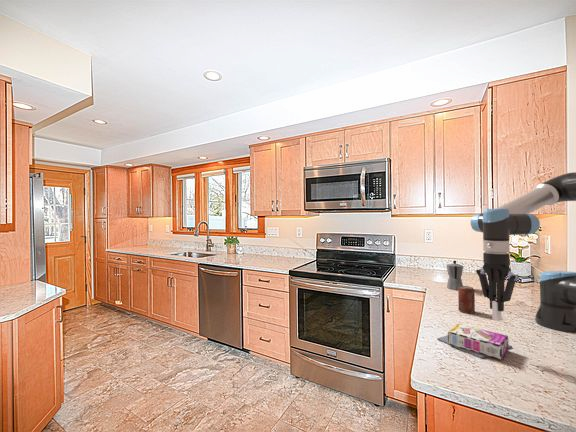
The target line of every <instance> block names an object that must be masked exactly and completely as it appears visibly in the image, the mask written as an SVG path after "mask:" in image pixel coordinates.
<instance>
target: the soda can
mask: <svg viewBox="0 0 576 432" xmlns="http://www.w3.org/2000/svg"><path fill="white" fill-rule="evenodd" d="M457 291H458V293H457V294H458V311H459V312H461V313H464V314H470V315H471V314H474V313H475V311H476V304H475V301H476V300H475V299H476V297H475V296H476V295H475V293H476V292H475V289H474V287H472V286H469V285H468V286H467V285H463V286H460V287H459V288H458V290H457Z"/></svg>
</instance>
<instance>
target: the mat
mask: <svg viewBox="0 0 576 432" xmlns="http://www.w3.org/2000/svg"><path fill="white" fill-rule="evenodd" d="M436 340H437V341H439V342H442V343H443V342H444V343H443V344H446V345H449V346H451V347H452V348H456V349H457V348H458V350H460V351H462V352H464V353H467V354H469V355H471V356H474V357H476V358H479V359H484V358H487V357H489V356H488V355H484V354H481V353H477V352H474V351H471V350H467V349H464V348H460V347H457V346H453V345H450V344H448V334H447V335H443V336H440V337H437V339H436ZM511 348H513V345H511V344H508V350H509V349H511Z"/></svg>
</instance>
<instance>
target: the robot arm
mask: <svg viewBox="0 0 576 432" xmlns="http://www.w3.org/2000/svg"><path fill="white" fill-rule="evenodd" d="M561 202H576V172H567V173H564V174H561V175H558V176H555V177H553V178H551V179H548V180H545V181H544V182H541V183H540V184H537V185H536V186H534V189H533V190H531V191H529V192H527V193H526V194H523V195H521V196H519V197H517V198H515V199H513V200H511V201H509V202H507V203H504V204H503V205H501V206H498V207H496V208H486V209H484V210H483V213H478V214H474V215H473V216H472V217H471V218H470V227H471V229H472V230H473V231H475V232H478V233H479V232H480V233H482V243H483V245H482V247H483V248H482V249H483V251H484V252H483V253H482V255H483V257H482V258H483V259H482V260H483V265H482V267H481V268H479V269H476V270H475V273H476V274H477V275H478V279H479V283H480V286H481V287H480V288H481V291H482V294H483V297H484V298H487V299H488V300H489V308H490V310H491V311H492V312H491V313H492V314H491V315H492V320H493V321H496V322H498V321H500V320H502V312H504V311H505V303H506V302H509V301H511V299H512V296H513V293H514V288H515V285H516V281H518V279H519V277H520V276H519V274H515V273H514V272H513V271H512V269H511V268H510V264H511V261H510V258H511V257H510V256H511V255H510V254H509V253H510V251H511V250H510V236H517V235H518V236H520V235H521V236H522V235H523V236H528V235H533V234H535V233H536V232H538V231H539V229H540V226H541V222H540V220H539V218H538V217H537V216H536V215H534V214H533V212H535V211H538V210H539V209H541V208H543V207H545V206H552V205H555V204H557V203H561ZM506 278H508V279H507V282H506ZM505 282H506V285H505ZM539 299H540V301H539V302H540V304H539V306H538V309H537V311H536V313H535V316H534V317H535V318H534V319H535V323H536V324H538V325H540V326H542V327H544V328H545V327H546V328H548V329H551V330H557V331H561V332H567V333H568V332H569V333H576V271H567V270H566V271H563V270H557V271H556V270H555V271H554V270H552V271H551V270H549V271H542V272H541V273H540V276H539Z"/></svg>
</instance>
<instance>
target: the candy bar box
mask: <svg viewBox="0 0 576 432" xmlns="http://www.w3.org/2000/svg"><path fill="white" fill-rule="evenodd" d="M447 335H448V344H450V345H453V346H457V347H460V348H464V349H467V350H471V351H474V352H477V353H481V354H484V355H488V356H487V357H491V358H495V359H497V360H503V358H504V357H505V355H506V354H507V352H508V350H509V349H508V345H509V335H506V334H502V333H498V332H494V331H489V330H485V329H480V328H478V327H477V328H476V327H473V326H469V325H465V324H464V325H463V324H460V323H457V324H456V325H454V326H453V327H452V328H451V329H450V330H448V331H447ZM448 344H447V345H448ZM450 345H449V346H450ZM453 346H452V347H453Z"/></svg>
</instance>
